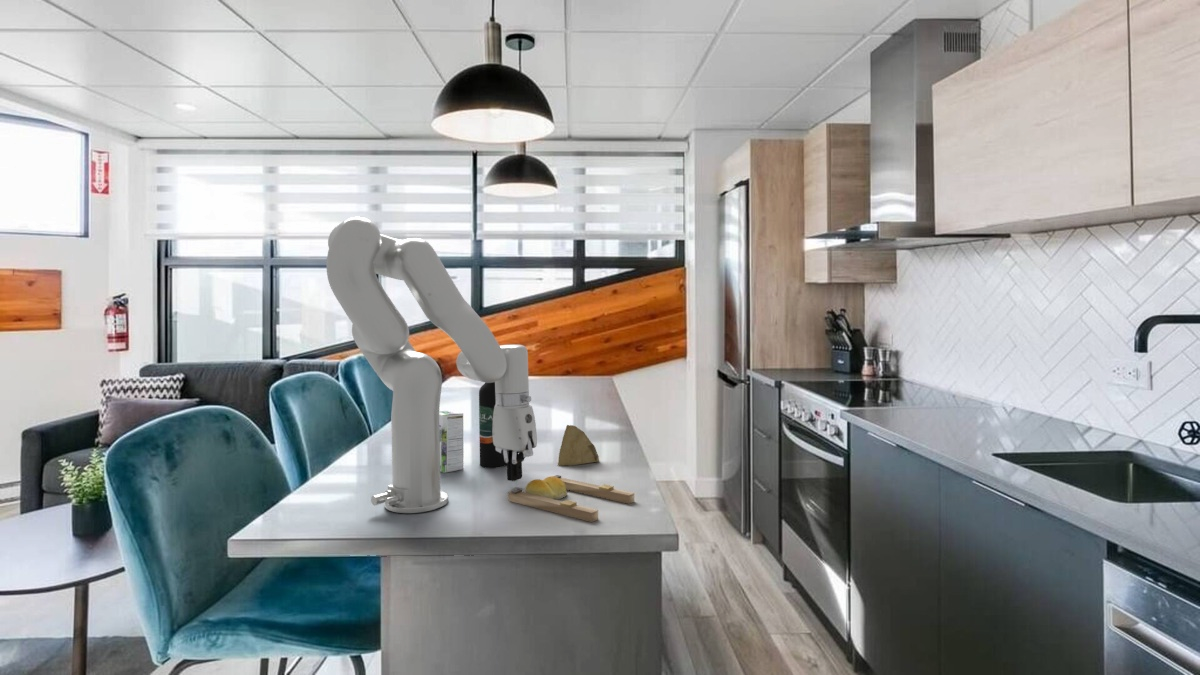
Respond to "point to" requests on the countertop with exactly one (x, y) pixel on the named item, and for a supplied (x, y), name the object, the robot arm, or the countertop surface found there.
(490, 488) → the countertop surface
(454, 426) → the syrup box
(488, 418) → the wine bottle
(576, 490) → the slot rails
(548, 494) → the bread roll
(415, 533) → the countertop surface
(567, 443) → the rock
